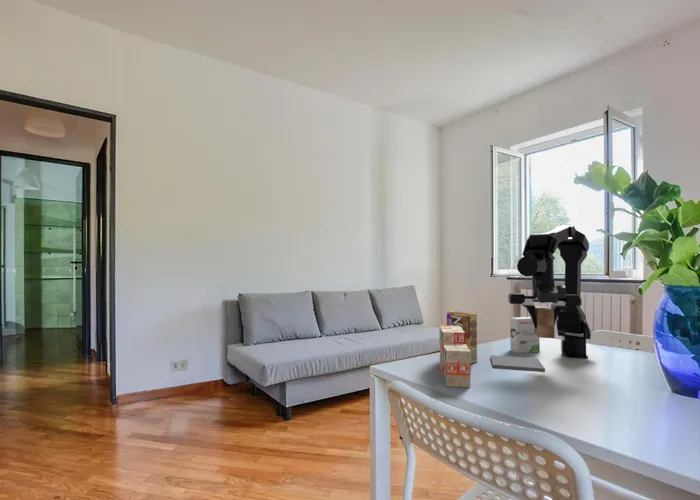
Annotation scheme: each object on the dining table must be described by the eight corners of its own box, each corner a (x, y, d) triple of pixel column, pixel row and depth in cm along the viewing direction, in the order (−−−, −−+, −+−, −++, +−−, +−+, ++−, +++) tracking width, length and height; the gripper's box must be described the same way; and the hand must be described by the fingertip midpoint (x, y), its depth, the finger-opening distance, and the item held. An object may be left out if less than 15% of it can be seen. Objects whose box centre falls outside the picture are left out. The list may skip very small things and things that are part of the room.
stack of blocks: (471, 388, 96) (470, 339, 96) (445, 387, 97) (445, 338, 97) (460, 365, 117) (460, 324, 117) (439, 364, 118) (439, 324, 118)
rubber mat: (537, 360, 121) (537, 358, 121) (544, 371, 110) (544, 368, 110) (490, 357, 125) (490, 355, 125) (493, 367, 114) (493, 364, 114)
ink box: (531, 349, 137) (531, 316, 137) (540, 352, 132) (540, 318, 133) (509, 350, 136) (509, 316, 136) (517, 353, 131) (517, 318, 131)
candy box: (478, 361, 120) (477, 313, 120) (470, 364, 117) (469, 314, 118) (454, 356, 127) (453, 310, 127) (446, 358, 124) (445, 311, 125)
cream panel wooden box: (548, 333, 115) (548, 306, 115) (554, 338, 108) (553, 309, 108) (534, 333, 116) (533, 306, 116) (539, 337, 109) (538, 309, 109)
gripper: (512, 276, 107) (513, 332, 107) (587, 276, 102) (588, 335, 102) (507, 274, 118) (508, 325, 118) (575, 275, 113) (576, 328, 113)
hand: (543, 328), depth 112 cm, fingers closed on cream panel wooden box, 4 cm apart
